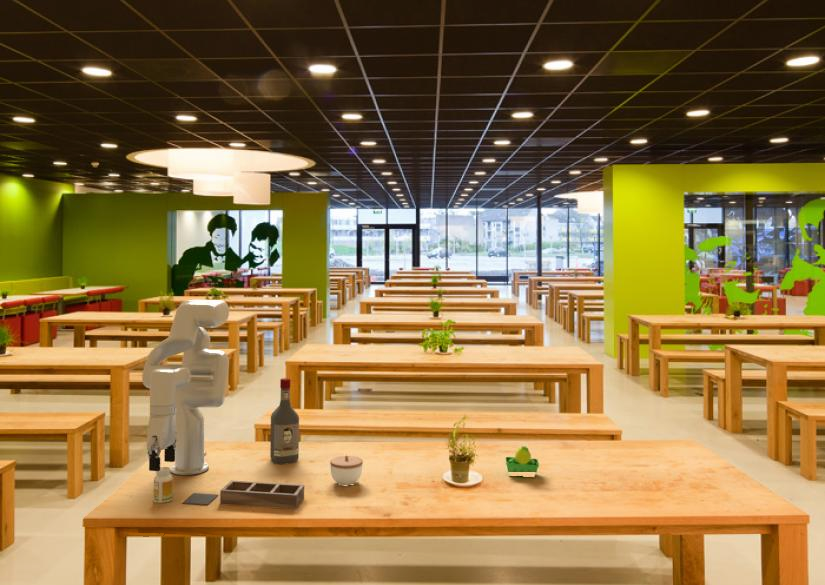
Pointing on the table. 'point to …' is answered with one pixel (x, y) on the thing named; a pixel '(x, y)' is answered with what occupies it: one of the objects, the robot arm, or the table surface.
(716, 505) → the table surface
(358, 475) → the lidded jar
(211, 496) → the mat
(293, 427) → the liquor
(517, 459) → the fruit basket
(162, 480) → the supplement bottle
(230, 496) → the rack
